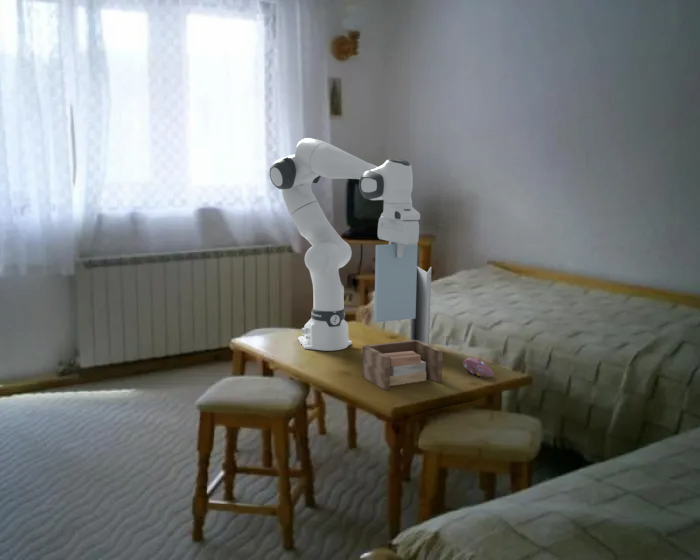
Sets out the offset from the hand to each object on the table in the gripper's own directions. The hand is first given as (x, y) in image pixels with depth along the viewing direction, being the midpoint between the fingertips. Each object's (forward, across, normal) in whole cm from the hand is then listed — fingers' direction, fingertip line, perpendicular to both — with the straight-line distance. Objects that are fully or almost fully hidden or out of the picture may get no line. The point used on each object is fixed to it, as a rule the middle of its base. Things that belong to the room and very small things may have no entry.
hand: (396, 256), depth 228 cm
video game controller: (+38, +11, +25) cm, 47 cm away
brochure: (+38, -21, +22) cm, 49 cm away
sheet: (+20, 0, 0) cm, 20 cm away
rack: (+38, +4, 0) cm, 39 cm away
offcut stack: (+38, +6, 0) cm, 39 cm away
